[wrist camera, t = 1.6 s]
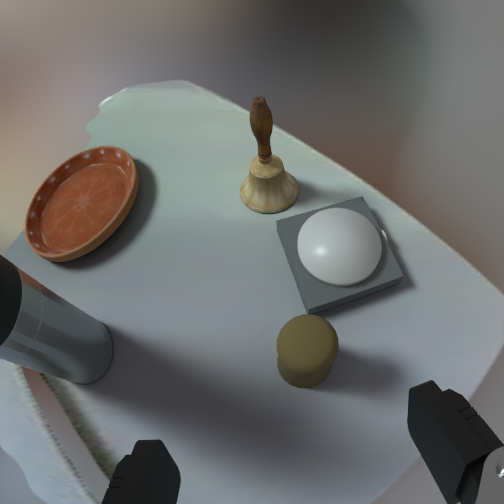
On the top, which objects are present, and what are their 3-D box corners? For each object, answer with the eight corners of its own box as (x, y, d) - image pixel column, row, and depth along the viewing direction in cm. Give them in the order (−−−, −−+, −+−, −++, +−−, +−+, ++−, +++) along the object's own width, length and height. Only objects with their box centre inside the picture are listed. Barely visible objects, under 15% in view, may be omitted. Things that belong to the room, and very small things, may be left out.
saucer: (39, 189, 55) (30, 178, 52) (135, 141, 56) (128, 127, 53) (34, 287, 44) (20, 277, 41) (154, 233, 45) (144, 219, 42)
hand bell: (254, 164, 49) (238, 77, 35) (306, 177, 47) (305, 86, 33) (230, 205, 46) (204, 117, 32) (286, 221, 43) (279, 129, 29)
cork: (340, 371, 33) (359, 354, 24) (291, 397, 33) (290, 390, 23) (315, 326, 36) (323, 292, 27) (268, 350, 36) (257, 324, 26)
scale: (307, 315, 37) (308, 306, 34) (277, 231, 43) (275, 216, 40) (400, 283, 37) (409, 270, 34) (362, 206, 43) (366, 191, 40)
